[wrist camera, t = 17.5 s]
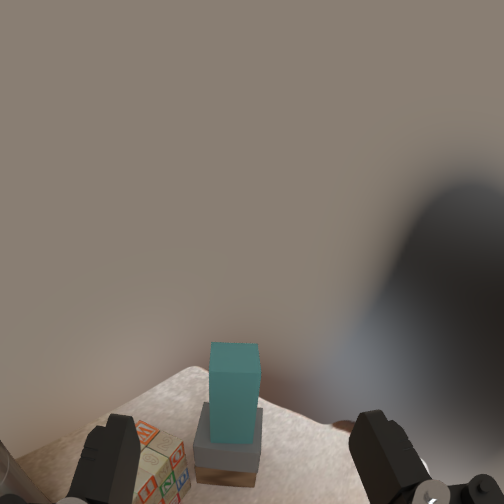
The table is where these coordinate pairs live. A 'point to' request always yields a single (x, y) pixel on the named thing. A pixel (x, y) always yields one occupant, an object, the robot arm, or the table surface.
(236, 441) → the teal pillar
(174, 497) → the stack of blocks
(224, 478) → the tower base block
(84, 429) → the table surface
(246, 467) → the tower top block
